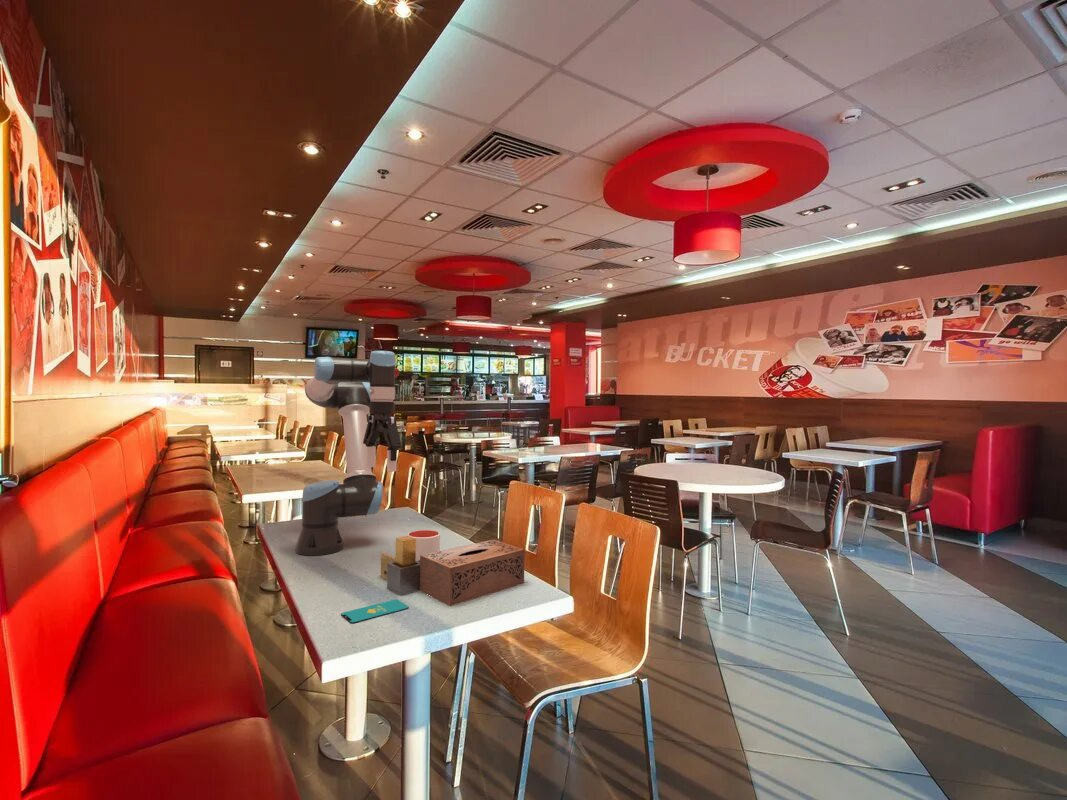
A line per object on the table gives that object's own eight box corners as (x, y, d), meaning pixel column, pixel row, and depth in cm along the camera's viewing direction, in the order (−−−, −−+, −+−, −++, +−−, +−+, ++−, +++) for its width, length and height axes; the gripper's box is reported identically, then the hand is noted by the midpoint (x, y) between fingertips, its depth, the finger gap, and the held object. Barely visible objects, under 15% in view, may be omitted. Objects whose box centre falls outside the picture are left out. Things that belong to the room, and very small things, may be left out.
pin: (395, 577, 146) (395, 538, 146) (407, 574, 149) (408, 535, 149) (402, 581, 144) (402, 540, 144) (415, 578, 146) (415, 538, 146)
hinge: (370, 579, 154) (370, 555, 154) (421, 567, 166) (422, 544, 166) (399, 595, 141) (400, 569, 141) (453, 581, 153) (453, 557, 153)
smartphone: (410, 606, 133) (351, 622, 123) (410, 609, 133) (351, 625, 123) (396, 598, 138) (339, 613, 128) (396, 601, 138) (339, 616, 128)
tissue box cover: (492, 571, 163) (493, 539, 163) (524, 584, 152) (524, 549, 152) (419, 591, 145) (420, 555, 145) (449, 607, 135) (450, 568, 135)
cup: (432, 571, 162) (432, 538, 162) (401, 568, 164) (402, 536, 164) (444, 561, 171) (444, 531, 171) (415, 559, 173) (415, 529, 173)
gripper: (353, 400, 170) (351, 466, 170) (390, 401, 152) (389, 474, 152) (374, 400, 176) (373, 464, 175) (413, 401, 157) (412, 472, 157)
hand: (381, 469), depth 164 cm, fingers open, 13 cm apart
